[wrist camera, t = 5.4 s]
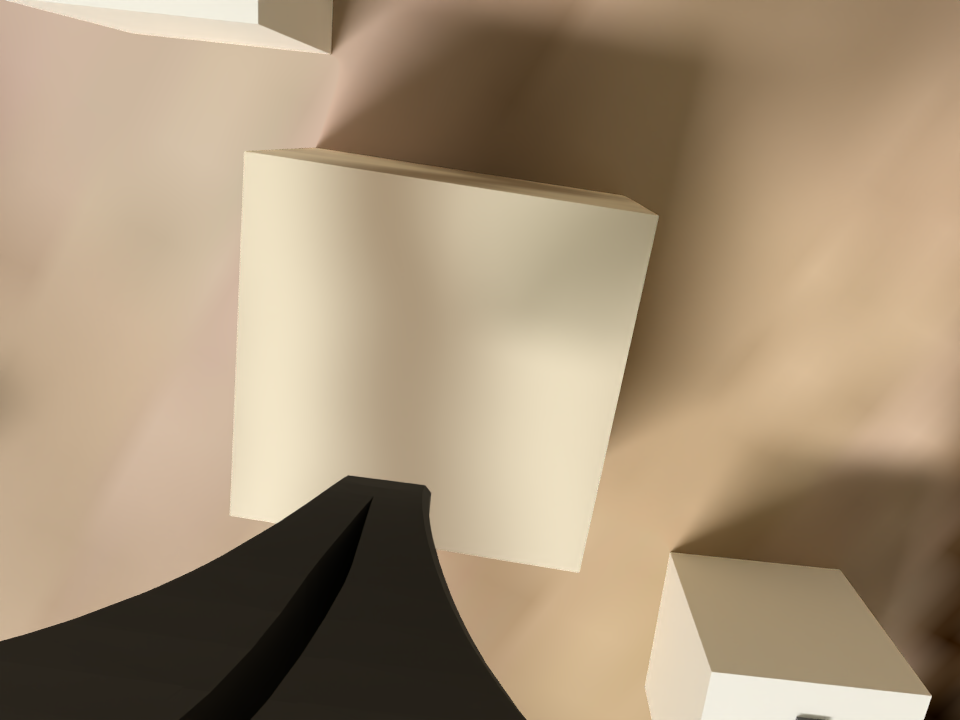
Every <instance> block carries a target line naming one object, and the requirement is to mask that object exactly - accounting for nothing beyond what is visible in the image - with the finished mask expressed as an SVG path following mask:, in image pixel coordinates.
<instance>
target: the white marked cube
mask: <svg viewBox="0 0 960 720" xmlns="http://www.w3.org/2000/svg"><path fill="white" fill-rule="evenodd" d="M645 690H646V695H647V700H648V704H649V709H650V714H651V718H652V720H924V718H925V715H926V712H927V709H928V706H929V703H930V700H931V697H932V695H931V694H930V693H929V691H928V690H927V688H926V687H925V686H924V684H923V683H922V682H921V680H920V679H919V677H918V676H917V675H916V673H915V672H914V671H913V669H912V668H911V666H910V665H909V664H908V662H907V661H906V660H905V658H904V657H903V655H902V654H901V653H900V651H899V650H898V649H897V647H896V646H895V644H894V643H893V642H892V640H891V639H890V638H889V636H888V635H887V633H886V632H885V631H884V629H883V628H882V627H881V625H880V624H879V622H878V621H877V620H876V618H875V617H874V616H873V614H872V613H871V611H870V610H869V609H868V607H867V606H866V605H865V603H864V602H863V600H862V599H861V598H860V596H859V595H858V594H857V592H856V591H855V589H854V588H853V587H852V585H851V584H850V583H849V581H848V580H847V578H846V577H845V576H844V574H843V573H842V572H841V570H839V569H829V568H820V567H810V566H800V565H791V564H781V563H771V562H761V561H752V560H742V559H732V558H723V557H713V556H703V555H694V554H684V553H674V552H670V555H669V561H668V566H667V571H666V577H665V582H664V587H663V593H662V598H661V603H660V609H659V614H658V619H657V625H656V630H655V635H654V640H653V646H652V651H651V656H650V662H649V667H648V672H647V678H646V683H645Z"/></svg>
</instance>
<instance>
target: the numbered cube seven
mask: <svg viewBox="0 0 960 720" xmlns="http://www.w3.org/2000/svg"><path fill="white" fill-rule="evenodd" d="M6 1H10V2H14V3H18V4H22V5H25V6H29V7H33V8H37V9H41V10H45V11H48V12H52V13H56V14H60V15H64V16H68V17H72V18H75V19H79V20H83V21H87V22H91V23H95V24H98V25H102V26H106V27H110V28H114V29H118V30H121V31H125V32H129V33H134V34H143V35H152V36H162V37H171V38H181V39H190V40H199V41H209V42H218V43H228V44H237V45H246V46H256V47H265V48H274V49H284V50H293V51H303V52H312V53H321V54H331V47H332V18H333V0H6Z"/></svg>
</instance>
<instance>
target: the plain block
mask: <svg viewBox="0 0 960 720" xmlns="http://www.w3.org/2000/svg"><path fill="white" fill-rule="evenodd" d="M658 218H659V215H657V214H655V213H654V212H652V211H650V210H648V209H647V208H645V207H643V206H642V205H640V204H638V203H637V202H635V201H633V200H631V199H630V198H628V197H626V196H624V195H617V194H611V193H605V192H598V191H592V190H585V189H579V188H572V187H566V186H559V185H553V184H547V183H540V182H534V181H527V180H521V179H514V178H508V177H502V176H495V175H489V174H482V173H476V172H469V171H463V170H456V169H450V168H444V167H437V166H431V165H424V164H418V163H411V162H405V161H399V160H392V159H386V158H379V157H373V156H366V155H360V154H353V153H347V152H341V151H334V150H328V149H321V148H299V149H279V150H259V151H244V171H243V196H242V221H241V246H240V272H239V297H238V322H237V347H236V373H235V398H234V423H233V449H232V474H231V499H230V516H235V517H241V518H247V519H253V520H259V521H265V522H271V523H278V522H280V521H281V520H283V519H284V518H286V517H287V516H289V515H290V514H292V513H293V512H295V511H296V510H298V509H299V508H301V507H302V506H304V505H305V504H307V503H308V502H309V501H311V500H312V499H314V498H315V497H317V496H318V495H320V494H321V493H322V492H324V491H325V490H327V489H328V488H329V487H331V486H332V485H334V484H335V483H337V482H338V481H340V480H341V479H343V478H344V477H346V476H347V475H350V476H358V477H366V478H373V479H381V480H389V481H397V482H405V483H413V484H420V485H425V486H426V487H427V488H428V489H429V491H430V492H431V502H430V513H429V518H430V525H431V531H432V536H433V541H434V544H435V548H436V549H437V550H443V551H449V552H455V553H461V554H467V555H473V556H479V557H486V558H492V559H498V560H504V561H510V562H516V563H522V564H528V565H535V566H541V567H547V568H553V569H559V570H565V571H571V572H577V573H579V572H580V567H581V563H582V558H583V554H584V549H585V545H586V540H587V536H588V531H589V527H590V523H591V518H592V514H593V509H594V505H595V500H596V496H597V491H598V487H599V482H600V478H601V473H602V469H603V464H604V460H605V455H606V451H607V446H608V442H609V438H610V433H611V429H612V424H613V420H614V415H615V411H616V406H617V402H618V397H619V393H620V388H621V384H622V379H623V375H624V370H625V366H626V361H627V357H628V353H629V348H630V344H631V339H632V335H633V330H634V326H635V321H636V317H637V312H638V308H639V303H640V299H641V294H642V290H643V285H644V281H645V277H646V272H647V268H648V263H649V259H650V254H651V250H652V245H653V241H654V236H655V232H656V227H657V223H658Z"/></svg>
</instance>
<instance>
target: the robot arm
mask: <svg viewBox="0 0 960 720" xmlns="http://www.w3.org/2000/svg"><path fill="white" fill-rule="evenodd" d="M430 502H431V492H430V491H429V489H428V488H427V487H426V486H425V485H420V484H413V483H405V482H397V481H389V480H381V479H373V478H366V477H358V476H350V475H347V476H346V477H344V478H343V479H341V480H340V481H338V482H337V483H335V484H334V485H332V486H331V487H329V488H328V489H327V490H325V491H324V492H322V493H321V494H320V495H318V496H317V497H315V498H314V499H312V500H311V501H309V502H308V503H307V504H305V505H304V506H302V507H301V508H299V509H298V510H296V511H295V512H293V513H292V514H290V515H289V516H287V517H286V518H284V519H283V520H281V521H280V522H278V523H277V524H275V525H274V526H272V527H270V528H269V529H267V530H265V531H264V532H262V533H260V534H258V535H257V536H255V537H253V538H252V539H250V540H248V541H246V542H245V543H243V544H241V545H240V546H238V547H236V548H235V549H233V550H231V551H229V552H228V553H226V554H224V555H223V556H221V557H219V558H217V559H215V560H213V561H211V562H209V563H208V564H206V565H204V566H202V567H200V568H198V569H196V570H194V571H192V572H189V573H187V574H185V575H183V576H181V577H179V578H176V579H174V580H172V581H170V582H168V583H165V584H163V585H161V586H159V587H157V588H154V589H152V590H150V591H147V592H145V593H142V594H140V595H137V596H134V597H132V598H129V599H126V600H124V601H121V602H118V603H116V604H113V605H110V606H108V607H105V608H102V609H100V610H97V611H94V612H92V613H89V614H86V615H84V616H81V617H78V618H76V619H73V620H70V621H67V622H64V623H60V624H57V625H54V626H51V627H48V628H44V629H41V630H38V631H35V632H32V633H28V634H25V635H21V636H18V637H14V638H11V639H7V640H4V641H0V720H526V718H525V717H524V716H523V715H522V714H521V712H520V711H519V710H518V709H517V707H516V706H515V704H514V703H513V701H512V700H511V699H510V697H509V696H508V694H507V693H506V691H505V690H504V689H503V687H502V686H501V684H500V683H499V681H498V680H497V679H496V677H495V676H494V674H493V673H492V671H491V670H490V669H489V667H488V666H487V664H486V663H485V661H484V659H483V657H482V656H481V654H480V652H479V651H478V649H477V647H476V645H475V644H474V642H473V640H472V638H471V637H470V635H469V633H468V631H467V629H466V627H465V625H464V623H463V621H462V619H461V617H460V615H459V612H458V610H457V608H456V606H455V604H454V601H453V599H452V596H451V594H450V591H449V589H448V586H447V583H446V581H445V578H444V575H443V572H442V569H441V566H440V563H439V560H438V556H437V552H436V548H435V544H434V541H433V536H432V531H431V525H430V518H429V513H430Z"/></svg>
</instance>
